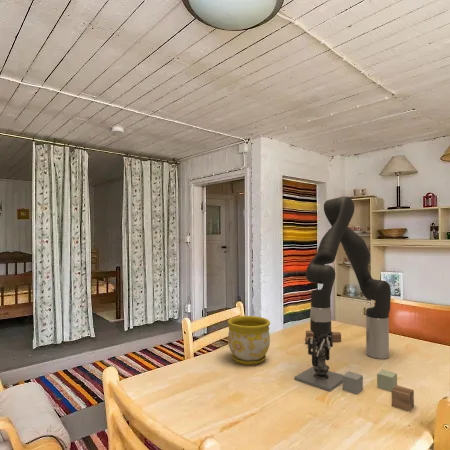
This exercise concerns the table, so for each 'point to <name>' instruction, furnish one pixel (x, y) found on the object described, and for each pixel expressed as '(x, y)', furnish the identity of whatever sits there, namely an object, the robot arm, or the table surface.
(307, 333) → the wooden block set
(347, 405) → the table surface
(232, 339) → the flowerpot
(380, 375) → the sage block
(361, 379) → the grey block
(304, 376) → the grey tile
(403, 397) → the walnut block
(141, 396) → the table surface
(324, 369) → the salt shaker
